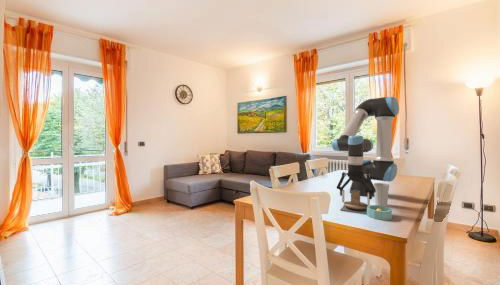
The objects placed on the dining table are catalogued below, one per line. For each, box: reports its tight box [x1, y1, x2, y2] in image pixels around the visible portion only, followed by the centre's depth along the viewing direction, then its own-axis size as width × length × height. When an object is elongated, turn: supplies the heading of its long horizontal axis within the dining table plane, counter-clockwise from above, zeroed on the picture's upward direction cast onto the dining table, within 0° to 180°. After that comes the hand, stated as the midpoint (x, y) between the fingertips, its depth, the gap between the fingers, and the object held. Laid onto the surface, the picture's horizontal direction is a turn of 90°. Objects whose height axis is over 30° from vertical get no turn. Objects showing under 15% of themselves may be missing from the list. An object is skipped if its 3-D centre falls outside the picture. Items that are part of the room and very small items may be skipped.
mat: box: [340, 205, 367, 216], centre depth 132 cm, size 13×13×1 cm
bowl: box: [366, 204, 393, 221], centre depth 121 cm, size 11×11×4 cm
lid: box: [343, 190, 367, 209], centre depth 132 cm, size 12×12×8 cm
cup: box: [373, 182, 390, 207], centre depth 139 cm, size 8×8×12 cm
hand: (355, 203), depth 132 cm, fingers open, 12 cm apart
